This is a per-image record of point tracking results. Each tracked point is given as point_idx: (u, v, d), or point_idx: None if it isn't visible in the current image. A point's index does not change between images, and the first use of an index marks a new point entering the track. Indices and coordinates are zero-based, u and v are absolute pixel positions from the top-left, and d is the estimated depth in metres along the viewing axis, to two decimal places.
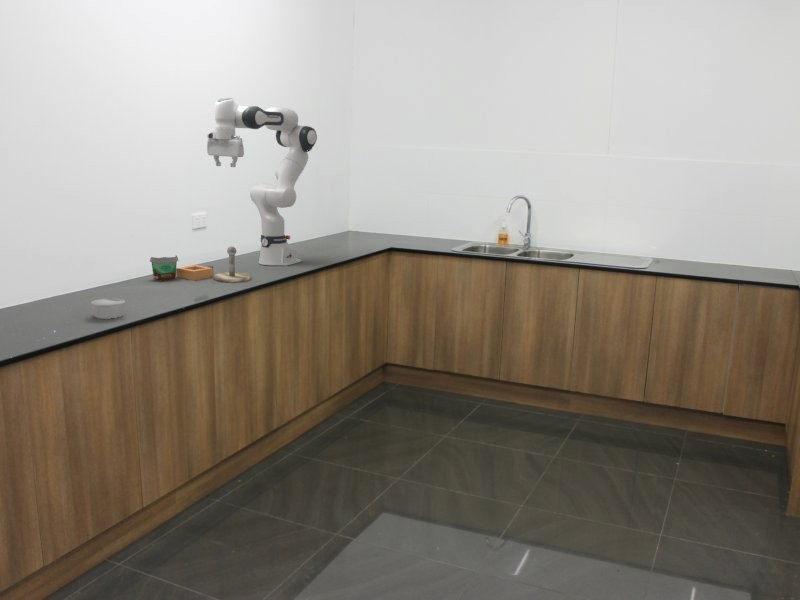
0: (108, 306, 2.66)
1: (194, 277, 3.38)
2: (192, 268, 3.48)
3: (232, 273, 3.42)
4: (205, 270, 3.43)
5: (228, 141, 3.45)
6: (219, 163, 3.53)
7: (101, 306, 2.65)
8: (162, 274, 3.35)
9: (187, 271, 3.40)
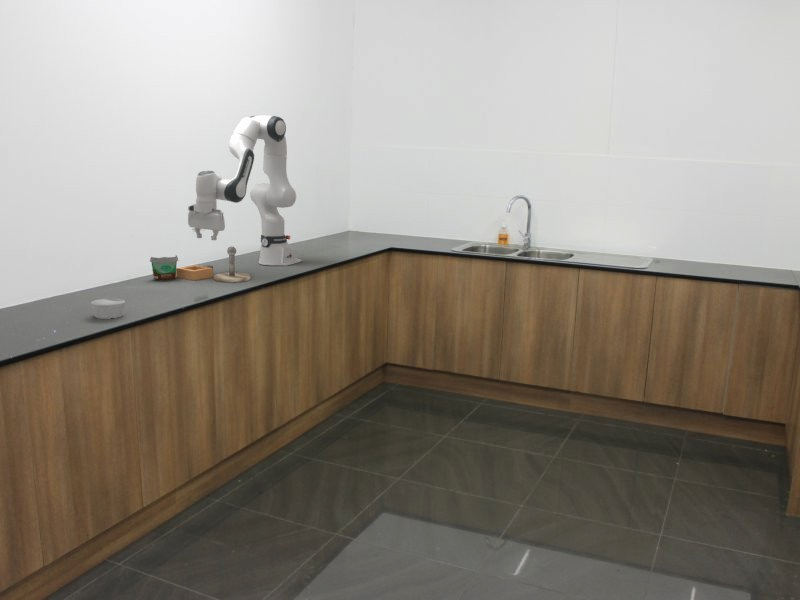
0: (108, 306, 2.66)
1: (194, 277, 3.38)
2: (192, 268, 3.48)
3: (232, 273, 3.42)
4: (205, 270, 3.43)
5: (209, 214, 3.42)
6: (200, 235, 3.50)
7: (101, 306, 2.65)
8: (162, 274, 3.35)
9: (187, 271, 3.40)
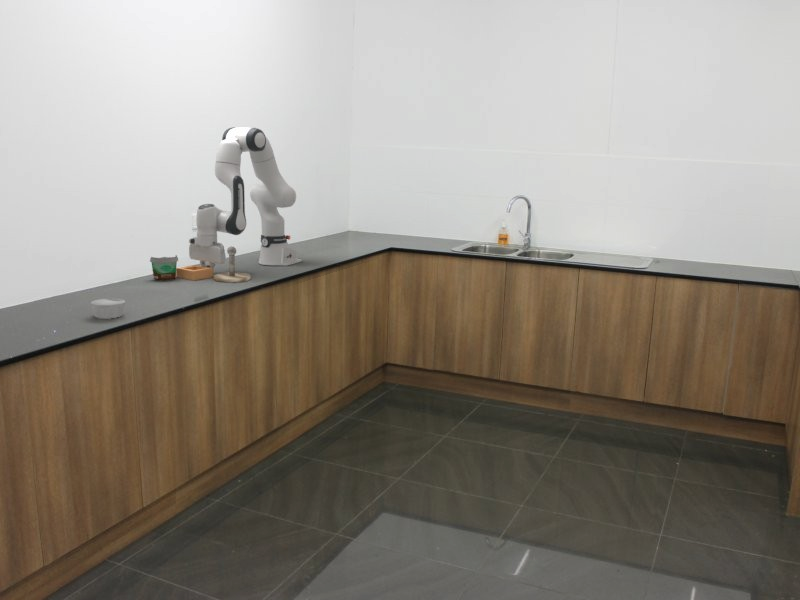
0: (108, 306, 2.66)
1: (194, 277, 3.38)
2: (192, 268, 3.48)
3: (232, 273, 3.42)
4: (205, 270, 3.43)
5: (210, 248, 3.45)
6: None
7: (101, 306, 2.65)
8: (162, 274, 3.35)
9: (187, 271, 3.40)
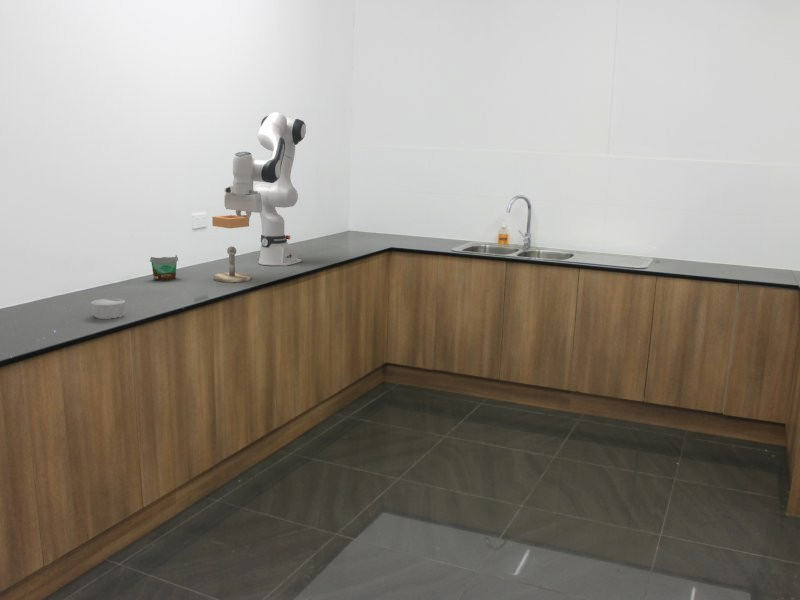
0: (108, 306, 2.66)
1: (231, 225, 3.32)
2: (228, 217, 3.42)
3: (232, 273, 3.42)
4: (242, 219, 3.36)
5: (246, 196, 3.39)
6: None
7: (101, 306, 2.65)
8: (162, 274, 3.35)
9: (224, 219, 3.33)
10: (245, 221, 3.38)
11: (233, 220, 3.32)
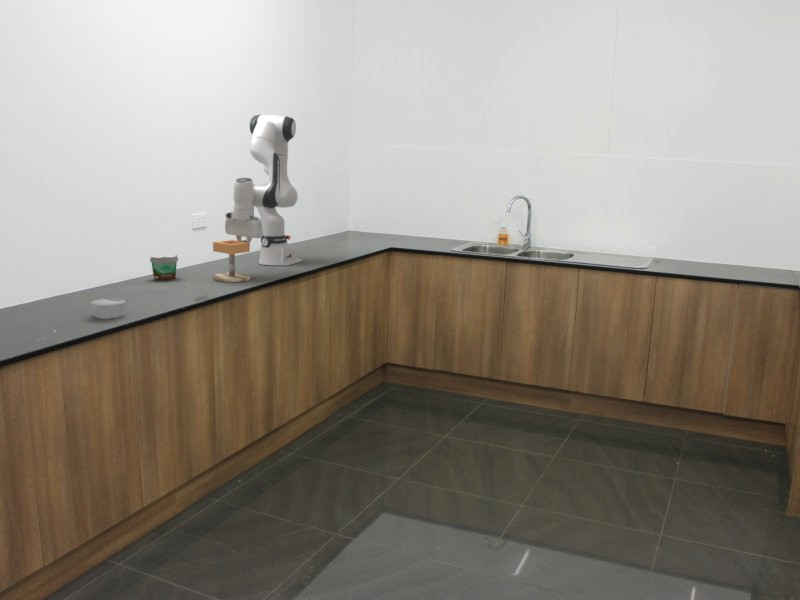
0: (108, 306, 2.66)
1: (231, 251, 3.34)
2: (228, 243, 3.44)
3: (232, 273, 3.42)
4: (242, 244, 3.38)
5: (247, 222, 3.41)
6: None
7: (101, 306, 2.65)
8: (162, 274, 3.35)
9: (224, 245, 3.35)
10: (245, 246, 3.40)
11: (234, 246, 3.34)
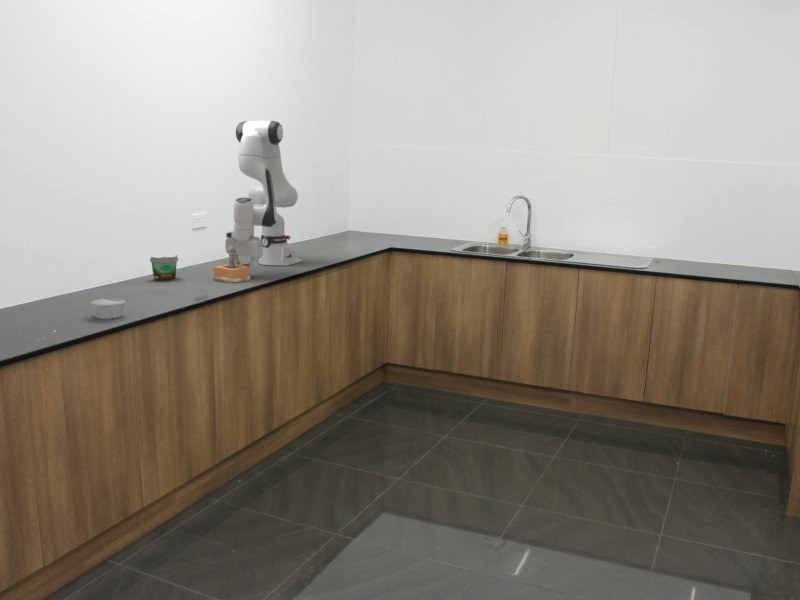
0: (108, 306, 2.66)
1: (232, 276, 3.36)
2: None
3: None
4: (243, 269, 3.41)
5: (247, 242, 3.43)
6: (239, 262, 3.51)
7: (101, 306, 2.65)
8: (162, 274, 3.35)
9: (225, 270, 3.38)
10: (246, 271, 3.43)
11: (234, 271, 3.37)
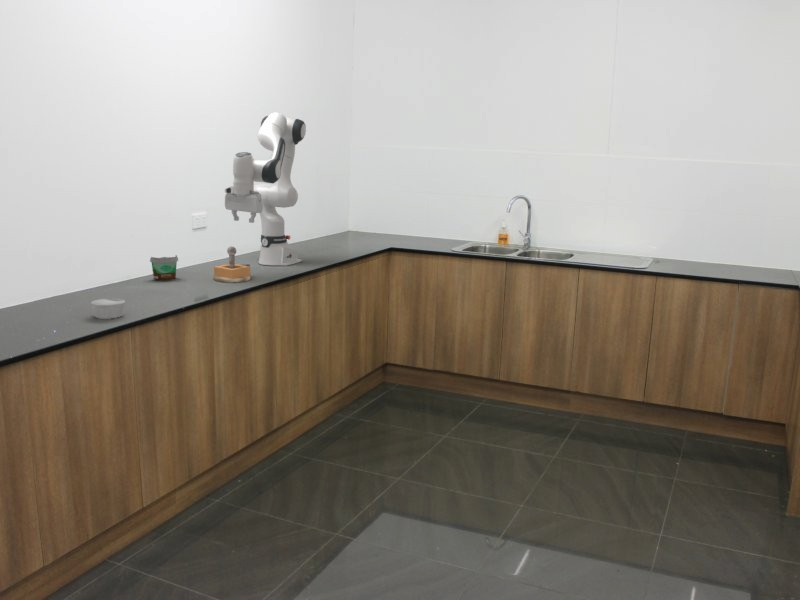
0: (108, 306, 2.66)
1: (232, 276, 3.36)
2: None
3: None
4: (243, 269, 3.41)
5: (247, 196, 3.39)
6: (237, 218, 3.47)
7: (101, 306, 2.65)
8: (162, 274, 3.35)
9: (225, 270, 3.38)
10: (246, 271, 3.43)
11: (234, 271, 3.37)
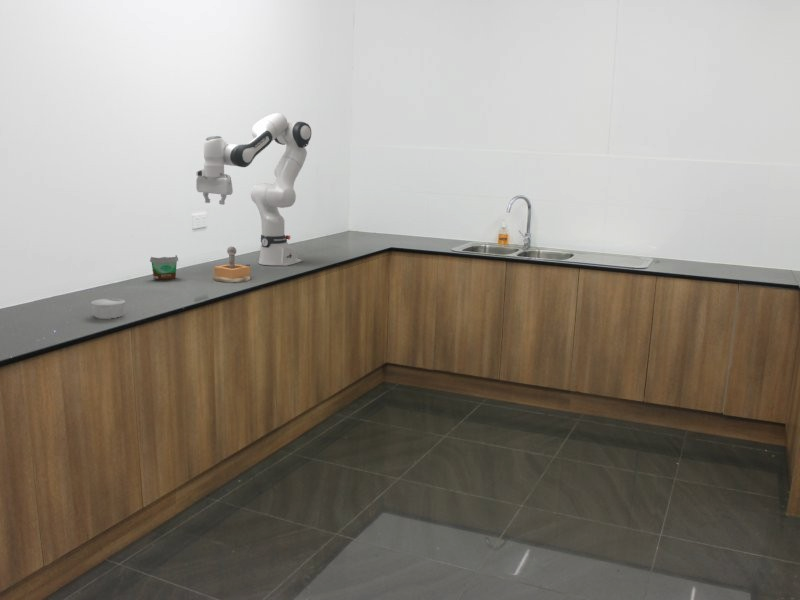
0: (108, 306, 2.66)
1: (232, 276, 3.36)
2: None
3: None
4: (243, 269, 3.41)
5: (217, 179, 3.49)
6: (208, 200, 3.57)
7: (101, 306, 2.65)
8: (162, 274, 3.35)
9: (225, 270, 3.38)
10: (246, 271, 3.43)
11: (234, 271, 3.37)
